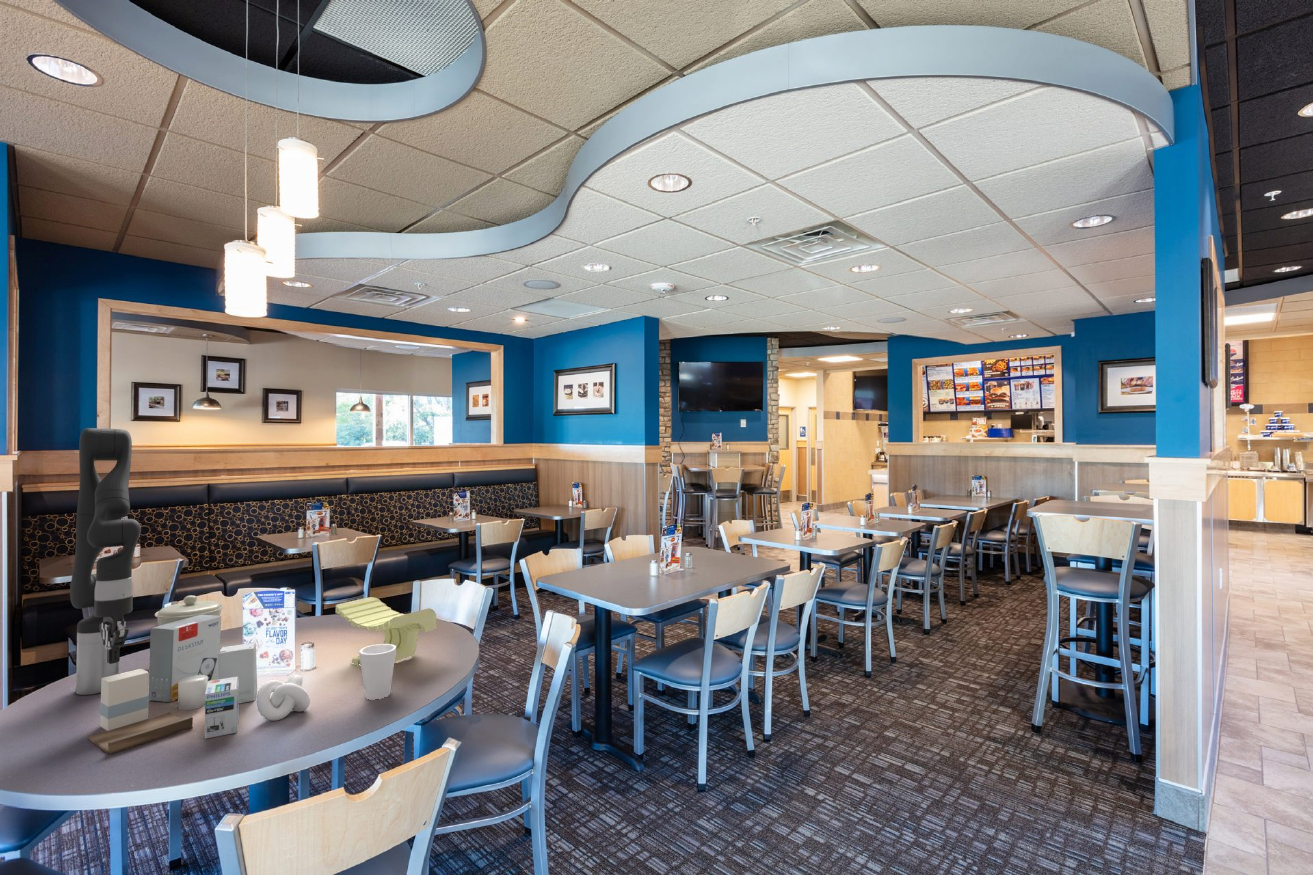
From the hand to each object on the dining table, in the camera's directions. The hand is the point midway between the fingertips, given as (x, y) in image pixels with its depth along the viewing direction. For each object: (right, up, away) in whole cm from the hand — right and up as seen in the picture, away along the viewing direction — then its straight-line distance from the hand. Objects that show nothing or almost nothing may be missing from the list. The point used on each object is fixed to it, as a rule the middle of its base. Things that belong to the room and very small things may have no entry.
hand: (113, 662), depth 161 cm
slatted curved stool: (+53, -15, +42) cm, 69 cm away
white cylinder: (+17, -14, +6) cm, 22 cm away
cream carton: (+7, -13, -5) cm, 16 cm away
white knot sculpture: (+44, -14, +1) cm, 47 cm away
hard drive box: (+7, -14, +15) cm, 22 cm away
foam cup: (+64, -14, +12) cm, 66 cm away
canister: (-12, -14, +41) cm, 45 cm away
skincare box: (+27, -14, +9) cm, 31 cm away
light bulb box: (+34, -14, -8) cm, 38 cm away
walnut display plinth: (+17, -13, -11) cm, 24 cm away
